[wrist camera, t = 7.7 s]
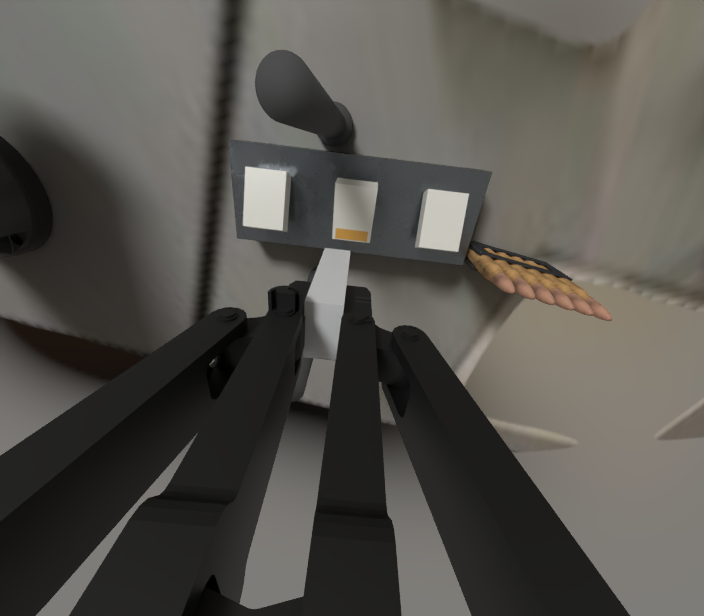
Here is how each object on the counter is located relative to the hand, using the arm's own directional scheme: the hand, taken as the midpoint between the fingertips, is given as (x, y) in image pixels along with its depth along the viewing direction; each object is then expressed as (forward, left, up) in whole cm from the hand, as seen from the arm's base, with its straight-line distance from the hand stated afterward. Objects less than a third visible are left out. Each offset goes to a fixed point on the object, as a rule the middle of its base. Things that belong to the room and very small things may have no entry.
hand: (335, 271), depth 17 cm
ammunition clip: (+18, -3, -18) cm, 25 cm away
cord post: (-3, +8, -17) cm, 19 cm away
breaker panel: (0, +1, -17) cm, 17 cm away
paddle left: (-8, +1, -11) cm, 14 cm away
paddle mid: (0, +1, -11) cm, 11 cm away
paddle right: (+8, +1, -11) cm, 14 cm away
